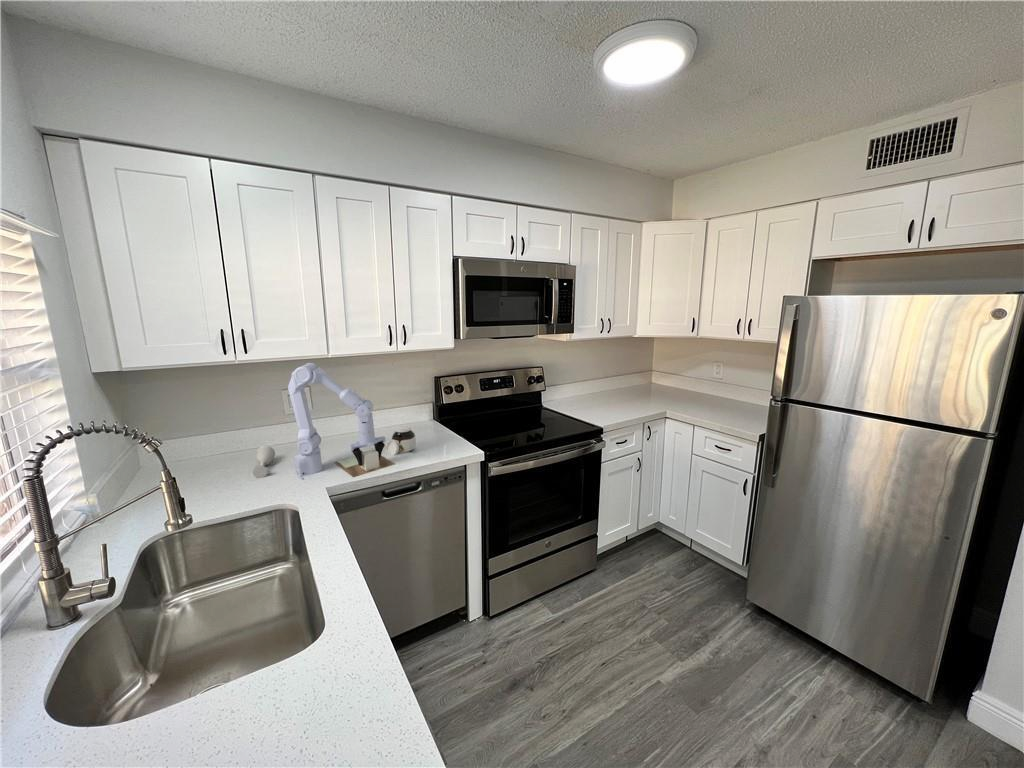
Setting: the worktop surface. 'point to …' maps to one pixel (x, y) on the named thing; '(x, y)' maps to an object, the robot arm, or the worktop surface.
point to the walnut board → (358, 470)
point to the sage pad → (349, 462)
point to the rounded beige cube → (370, 459)
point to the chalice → (263, 460)
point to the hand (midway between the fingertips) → (369, 462)
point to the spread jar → (401, 440)
